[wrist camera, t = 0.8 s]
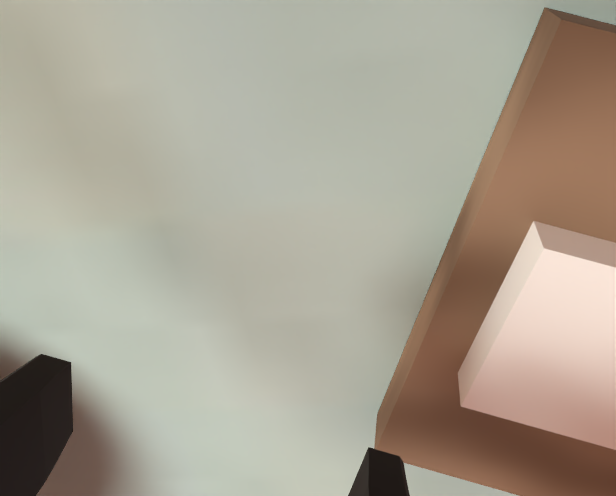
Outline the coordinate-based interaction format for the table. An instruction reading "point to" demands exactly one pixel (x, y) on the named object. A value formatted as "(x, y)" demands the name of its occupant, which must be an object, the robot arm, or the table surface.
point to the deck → (498, 259)
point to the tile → (550, 339)
